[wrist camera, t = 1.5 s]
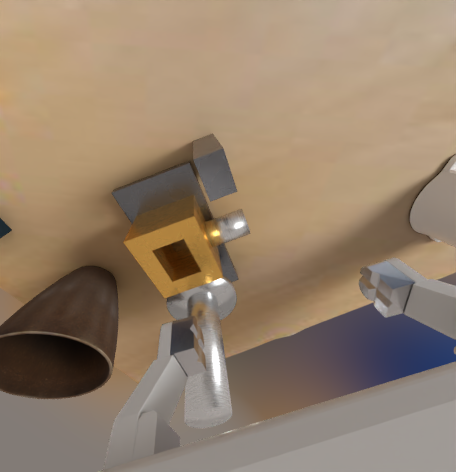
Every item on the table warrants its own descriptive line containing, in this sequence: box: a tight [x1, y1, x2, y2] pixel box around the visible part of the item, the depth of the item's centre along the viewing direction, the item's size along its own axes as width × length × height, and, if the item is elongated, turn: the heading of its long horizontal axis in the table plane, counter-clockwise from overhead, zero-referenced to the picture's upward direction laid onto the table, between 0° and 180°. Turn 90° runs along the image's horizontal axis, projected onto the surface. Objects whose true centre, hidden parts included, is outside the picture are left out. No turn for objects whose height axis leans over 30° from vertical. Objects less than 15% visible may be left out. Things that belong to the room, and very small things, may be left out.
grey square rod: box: [193, 134, 237, 201], centre depth 27 cm, size 3×4×12 cm, turn 19°
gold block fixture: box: [112, 161, 250, 428], centre depth 28 cm, size 17×24×24 cm
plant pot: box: [0, 266, 118, 399], centre depth 34 cm, size 15×15×16 cm
